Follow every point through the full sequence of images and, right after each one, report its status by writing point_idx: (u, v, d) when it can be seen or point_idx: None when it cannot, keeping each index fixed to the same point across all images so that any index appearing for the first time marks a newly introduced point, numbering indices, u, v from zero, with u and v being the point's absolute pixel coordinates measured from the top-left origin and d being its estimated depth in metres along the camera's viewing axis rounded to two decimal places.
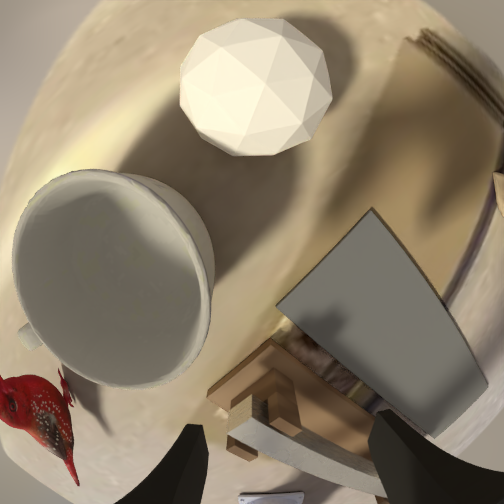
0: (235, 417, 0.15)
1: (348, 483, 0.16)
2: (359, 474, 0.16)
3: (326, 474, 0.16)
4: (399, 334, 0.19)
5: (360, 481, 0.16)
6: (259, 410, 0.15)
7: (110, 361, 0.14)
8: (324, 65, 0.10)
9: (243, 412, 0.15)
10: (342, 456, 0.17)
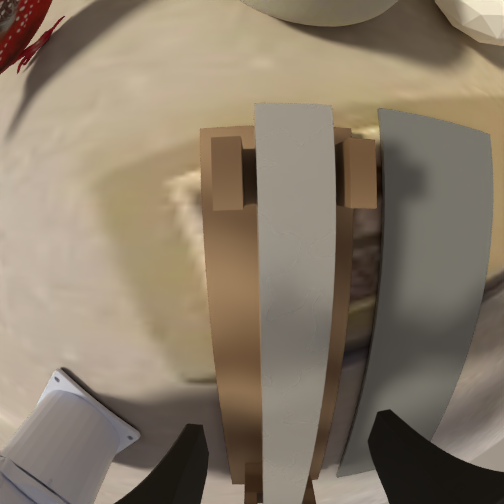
0: None
1: (274, 447, 0.10)
2: (308, 437, 0.10)
3: (279, 391, 0.09)
4: (445, 273, 0.14)
5: (289, 457, 0.10)
6: None
7: None
8: None
9: None
10: None
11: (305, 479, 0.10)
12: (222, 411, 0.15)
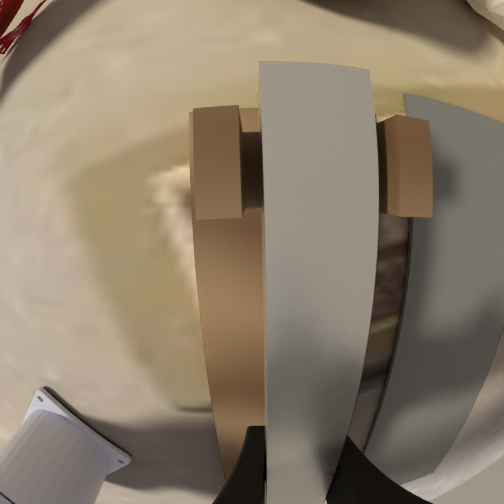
0: None
1: (280, 497, 0.07)
2: (320, 487, 0.07)
3: (288, 448, 0.06)
4: (474, 287, 0.11)
5: None
6: None
7: None
8: None
9: None
10: None
11: None
12: (220, 442, 0.13)
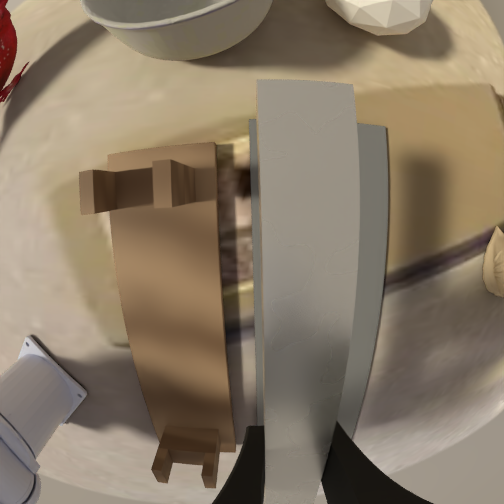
0: None
1: (277, 478, 0.08)
2: (316, 468, 0.08)
3: (284, 425, 0.07)
4: None
5: (294, 486, 0.08)
6: None
7: (104, 17, 0.09)
8: (428, 1, 0.09)
9: None
10: None
11: None
12: (137, 371, 0.19)
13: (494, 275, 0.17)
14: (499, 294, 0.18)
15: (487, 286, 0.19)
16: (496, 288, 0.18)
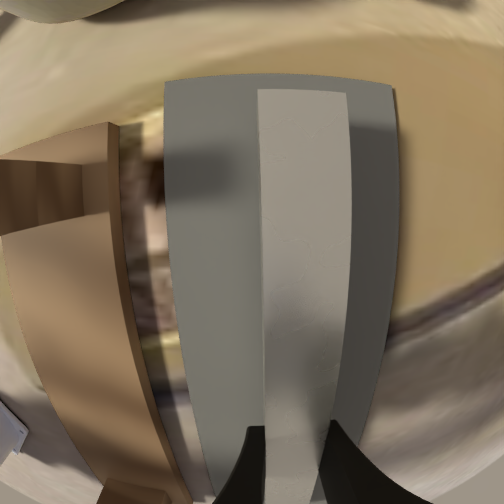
0: None
1: (277, 466, 0.09)
2: (314, 457, 0.09)
3: (283, 412, 0.08)
4: None
5: (293, 475, 0.09)
6: None
7: None
8: None
9: None
10: None
11: (310, 495, 0.09)
12: (62, 422, 0.12)
13: None
14: None
15: None
16: None
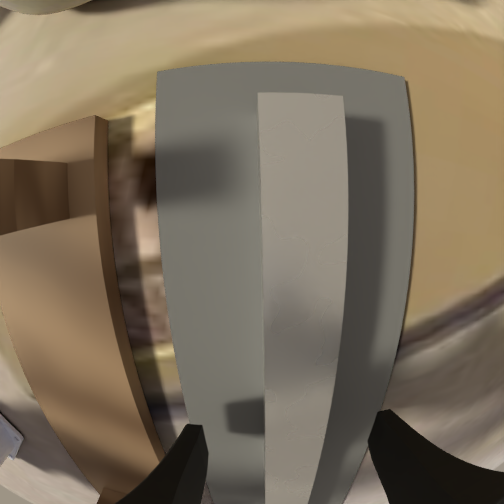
0: None
1: (277, 461, 0.09)
2: (313, 452, 0.09)
3: (283, 406, 0.08)
4: None
5: (293, 470, 0.09)
6: None
7: None
8: None
9: None
10: None
11: (309, 491, 0.10)
12: (55, 432, 0.11)
13: None
14: None
15: None
16: None
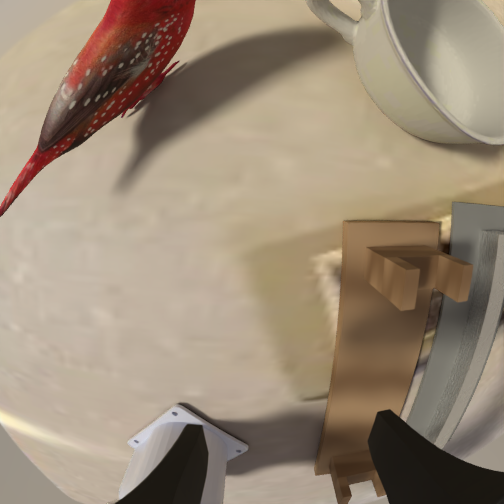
0: (495, 232, 0.16)
1: (468, 377, 0.17)
2: (480, 369, 0.17)
3: (481, 344, 0.17)
4: None
5: (470, 383, 0.18)
6: None
7: None
8: None
9: (501, 232, 0.16)
10: None
11: (468, 399, 0.18)
12: (329, 418, 0.19)
13: None
14: None
15: None
16: None
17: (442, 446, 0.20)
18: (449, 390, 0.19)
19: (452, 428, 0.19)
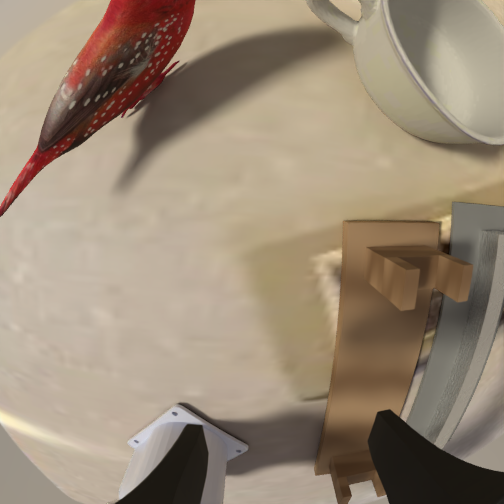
0: (495, 232, 0.16)
1: (468, 377, 0.17)
2: (480, 369, 0.17)
3: (481, 344, 0.17)
4: None
5: (470, 383, 0.18)
6: None
7: None
8: None
9: (501, 232, 0.16)
10: None
11: (468, 399, 0.18)
12: (329, 418, 0.19)
13: None
14: None
15: None
16: None
17: (442, 446, 0.20)
18: (449, 390, 0.19)
19: (452, 428, 0.19)
